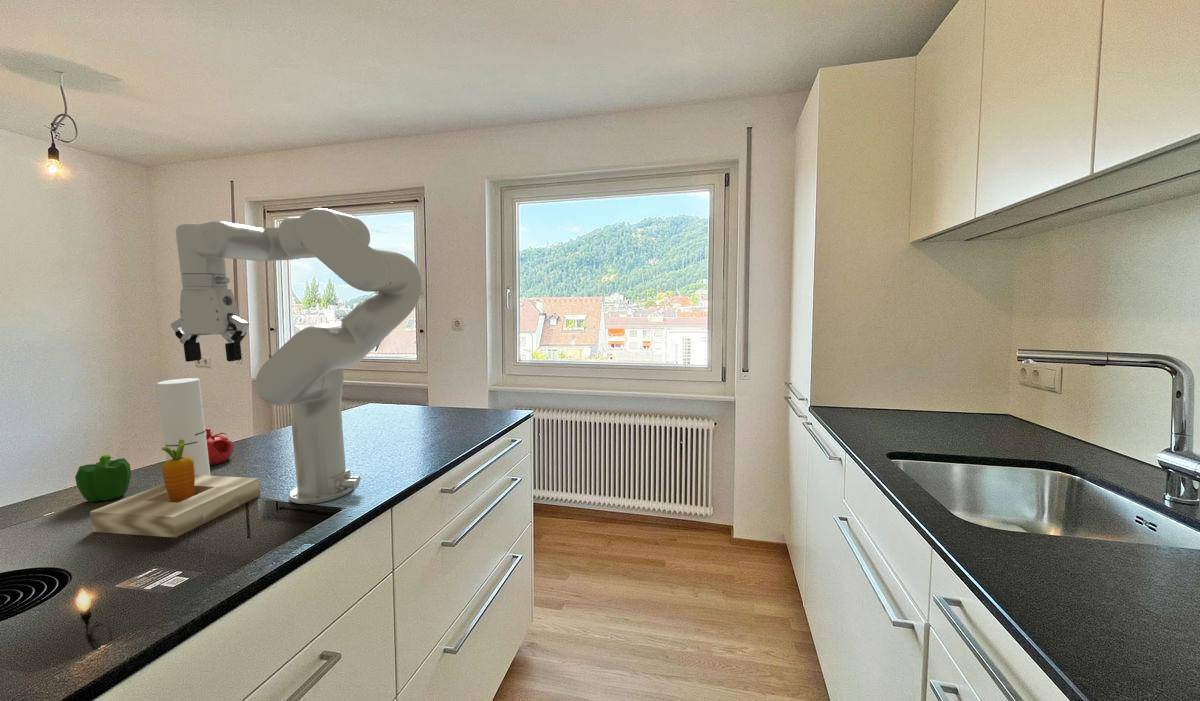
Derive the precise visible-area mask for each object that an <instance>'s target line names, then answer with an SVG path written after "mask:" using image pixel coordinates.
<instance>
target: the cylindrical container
mask: <svg viewBox="0 0 1200 701" xmlns="http://www.w3.org/2000/svg"><path fill="white" fill-rule="evenodd" d="M200 380H201V379H200V378H198V377H197V378H196V377H195V378H194V377H191V378H190V377H188V378H177V379H167V380H162V381H159V382H157V383H156V384H157V390H158V391H157V392H158V400H159V408H160V415H161V416H160V418H161V424H162V432H163V440H164V441H163V442H164V447H166V446H168V447H169V448H170V449H171V450H175V451H177V448H178V446H179V440H180V439H182V440H184V449H183V454H182V457H191V458H192V459H193V461H194V470H195V475H206V476H211V469H210V465H209V458H208V449H207V440H206V434H207V433H206V431H205V430H206V424H205V416H204V415H205V413H204V408H203V407H204V406H203V398H202V389H201V381H200ZM165 456H166V461H167V460H170V459H173V458H172V457H171V456H170V455H169V454H168V453H167V452H166V451H165Z"/></svg>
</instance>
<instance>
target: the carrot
mask: <svg viewBox="0 0 1200 701" xmlns="http://www.w3.org/2000/svg"><path fill="white" fill-rule="evenodd" d="M183 449H184V440H182V439H180V440H179V446H178V448H177V451H175V450H171V449H170V448H169V447H168V446H166V447H165V446H162V448H161V450H162V451H164V452H165V453H166V452H167V453H168V454H169V455H170V456H171V457H172V458H173V459H170V460H167V459H166V461H165V462H164V463H163V465H162V470H161V471H162V476H163V481H164V483H165V487H166V490H167V492H168V495H169V497H170V499H171V501H172V502H176V503H179V502H181V501H183V500H186V499H188V498H190V497H192V496H193V492H194V484H195V470H194V461H193V459H192V458H191V457H182V454H183Z"/></svg>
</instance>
